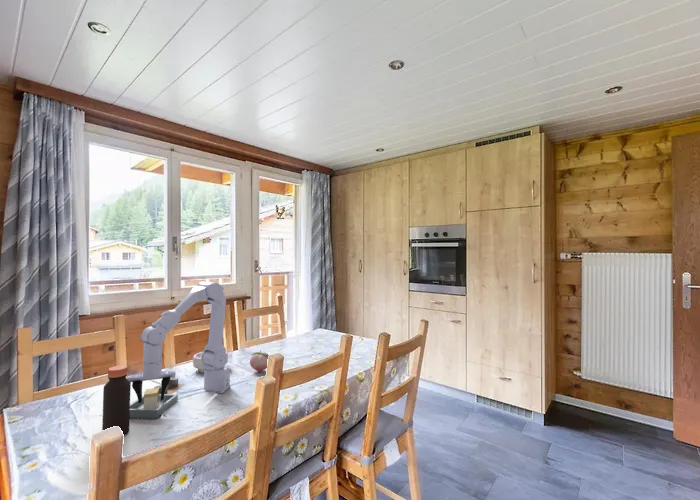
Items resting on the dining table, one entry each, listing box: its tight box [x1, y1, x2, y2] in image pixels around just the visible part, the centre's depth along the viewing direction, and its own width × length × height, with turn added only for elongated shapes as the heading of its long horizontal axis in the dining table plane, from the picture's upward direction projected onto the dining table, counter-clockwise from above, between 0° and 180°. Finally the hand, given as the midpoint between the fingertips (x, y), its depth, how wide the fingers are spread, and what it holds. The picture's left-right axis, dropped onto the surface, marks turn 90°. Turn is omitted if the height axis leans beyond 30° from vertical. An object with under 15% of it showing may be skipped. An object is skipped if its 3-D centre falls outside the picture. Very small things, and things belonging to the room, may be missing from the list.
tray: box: [130, 393, 179, 420], centre depth 116 cm, size 12×13×3 cm
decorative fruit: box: [249, 350, 270, 373], centre depth 157 cm, size 9×8×10 cm
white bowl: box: [192, 350, 229, 374], centre depth 158 cm, size 15×15×8 cm
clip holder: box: [153, 377, 185, 394], centre depth 131 cm, size 8×13×4 cm, turn 0°
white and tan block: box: [143, 387, 160, 409], centre depth 117 cm, size 4×5×6 cm
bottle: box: [101, 364, 132, 437], centre depth 100 cm, size 7×7×20 cm
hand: (151, 400), depth 116 cm, fingers open, 6 cm apart
